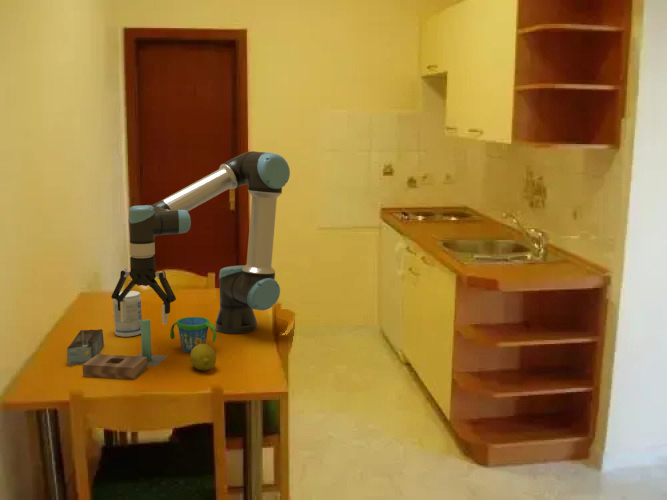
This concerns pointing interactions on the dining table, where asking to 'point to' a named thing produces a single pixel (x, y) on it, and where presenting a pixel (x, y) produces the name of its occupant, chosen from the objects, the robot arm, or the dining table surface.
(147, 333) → the peg
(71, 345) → the beverage carton
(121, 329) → the supplement tub
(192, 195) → the robot arm
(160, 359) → the mat
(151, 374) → the dining table surface
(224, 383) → the dining table surface
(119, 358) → the block
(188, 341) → the snack cup
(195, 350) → the lemon
